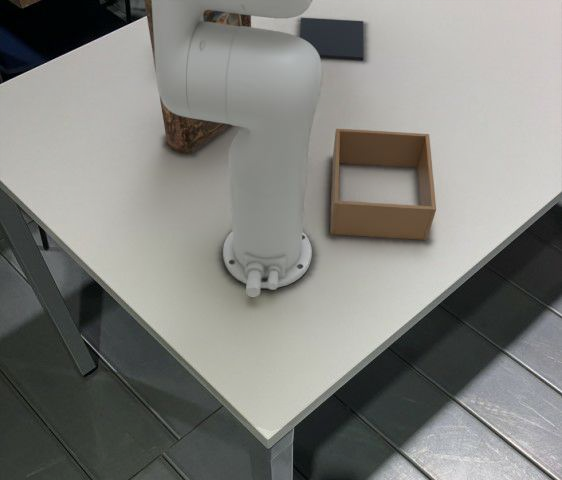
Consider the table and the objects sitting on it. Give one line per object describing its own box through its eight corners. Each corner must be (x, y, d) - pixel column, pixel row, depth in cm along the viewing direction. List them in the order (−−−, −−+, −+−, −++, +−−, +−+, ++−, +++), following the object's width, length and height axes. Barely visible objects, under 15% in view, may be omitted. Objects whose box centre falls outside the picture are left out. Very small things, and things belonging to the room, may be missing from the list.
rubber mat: (363, 60, 114) (363, 57, 114) (298, 56, 114) (298, 53, 114) (362, 24, 120) (363, 21, 120) (301, 20, 120) (301, 17, 120)
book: (186, 157, 99) (164, -6, 78) (161, 142, 101) (134, -22, 80) (252, 108, 106) (250, -54, 85) (228, 95, 108) (220, -67, 86)
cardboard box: (426, 240, 91) (436, 209, 86) (330, 234, 91) (334, 203, 86) (420, 165, 99) (429, 133, 94) (332, 160, 100) (336, 128, 94)
